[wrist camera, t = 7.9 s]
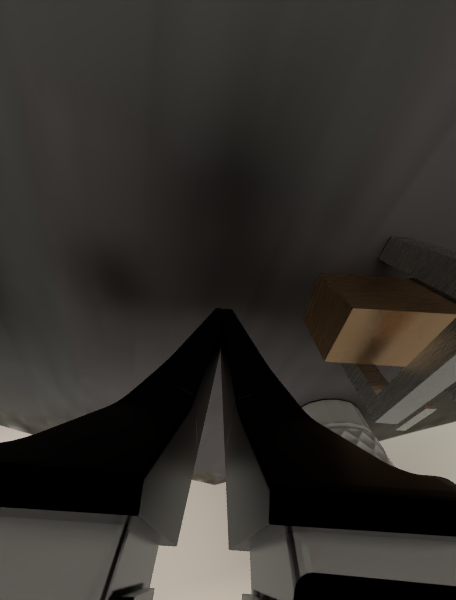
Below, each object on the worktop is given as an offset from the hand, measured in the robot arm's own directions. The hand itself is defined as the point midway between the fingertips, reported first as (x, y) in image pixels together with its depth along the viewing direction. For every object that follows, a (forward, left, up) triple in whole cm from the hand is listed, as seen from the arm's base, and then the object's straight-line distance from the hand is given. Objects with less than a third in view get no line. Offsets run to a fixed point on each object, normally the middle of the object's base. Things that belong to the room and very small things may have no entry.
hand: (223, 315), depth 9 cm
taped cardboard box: (+9, -7, -3) cm, 12 cm away
